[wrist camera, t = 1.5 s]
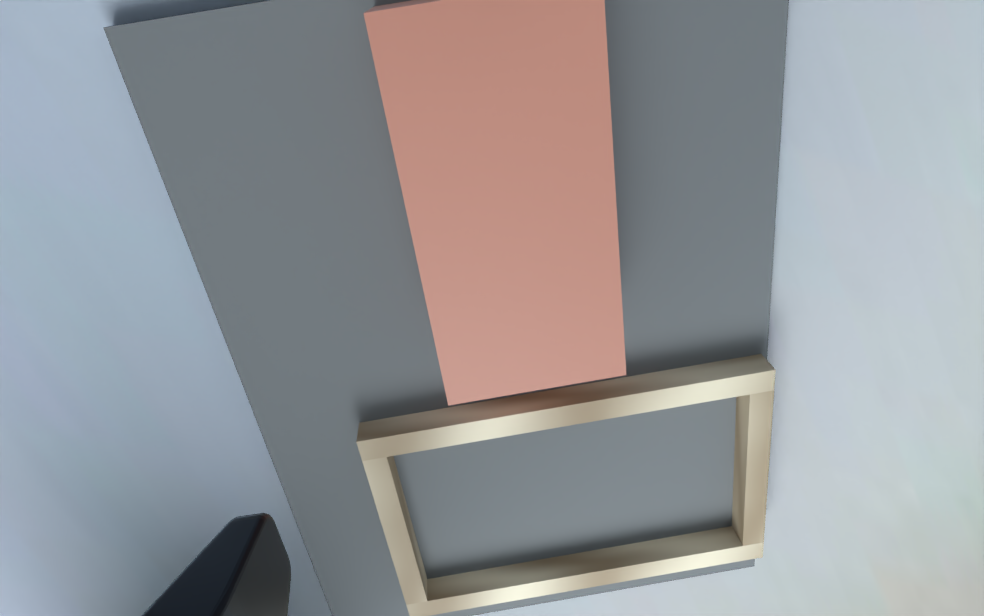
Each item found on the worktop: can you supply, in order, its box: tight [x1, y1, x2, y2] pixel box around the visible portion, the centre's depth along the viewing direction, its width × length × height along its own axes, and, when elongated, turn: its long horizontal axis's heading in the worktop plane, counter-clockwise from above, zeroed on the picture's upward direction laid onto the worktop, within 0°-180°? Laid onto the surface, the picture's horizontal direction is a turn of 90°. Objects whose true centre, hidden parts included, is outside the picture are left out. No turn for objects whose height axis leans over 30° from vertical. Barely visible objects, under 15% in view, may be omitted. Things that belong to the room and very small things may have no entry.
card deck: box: [364, 0, 626, 406], centre depth 17 cm, size 5×10×3 cm, turn 8°
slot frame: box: [356, 354, 775, 616], centre depth 23 cm, size 14×9×1 cm, turn 98°
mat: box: [104, 0, 789, 616], centre depth 21 cm, size 17×23×1 cm
